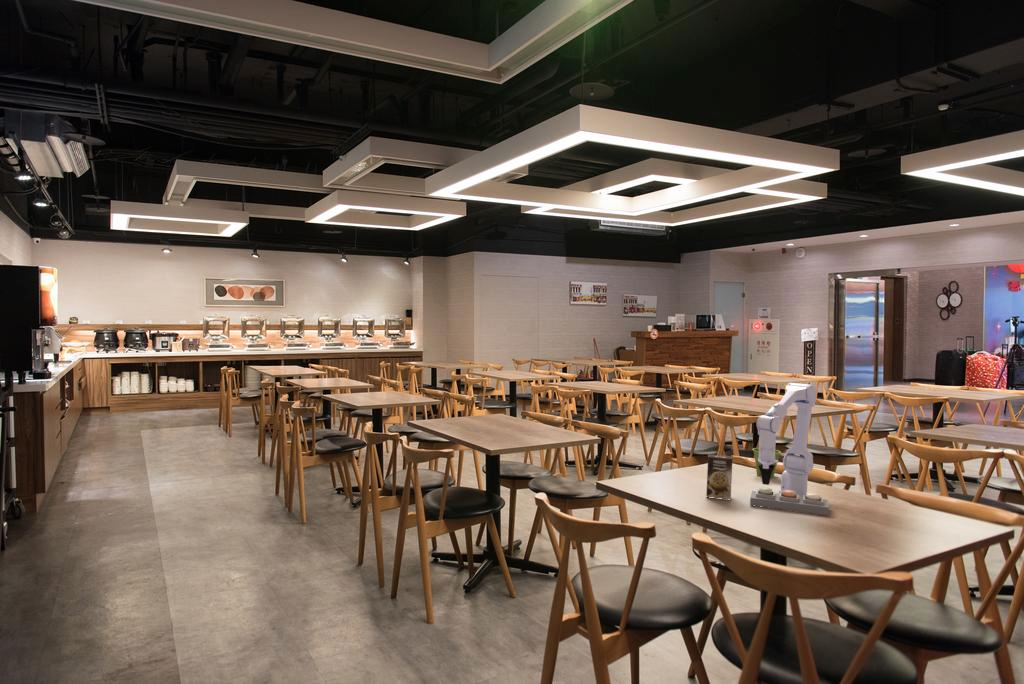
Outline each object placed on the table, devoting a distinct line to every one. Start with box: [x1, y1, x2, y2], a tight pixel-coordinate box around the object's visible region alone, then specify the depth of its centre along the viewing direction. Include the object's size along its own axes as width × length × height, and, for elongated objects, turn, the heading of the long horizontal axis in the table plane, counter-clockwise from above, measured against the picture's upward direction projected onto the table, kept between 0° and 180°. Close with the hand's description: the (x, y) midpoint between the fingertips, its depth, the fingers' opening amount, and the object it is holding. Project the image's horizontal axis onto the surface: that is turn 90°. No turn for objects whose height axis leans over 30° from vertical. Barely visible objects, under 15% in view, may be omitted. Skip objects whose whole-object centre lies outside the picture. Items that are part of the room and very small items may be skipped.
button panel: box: [749, 489, 830, 517], centre depth 234 cm, size 26×11×4 cm, turn 66°
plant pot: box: [751, 447, 782, 478], centre depth 282 cm, size 12×12×11 cm
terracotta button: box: [783, 490, 796, 497], centre depth 234 cm, size 4×4×2 cm
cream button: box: [806, 492, 821, 500], centre depth 231 cm, size 4×4×2 cm
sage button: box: [758, 486, 773, 494], centre depth 238 cm, size 4×4×2 cm
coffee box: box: [705, 453, 733, 500], centre depth 245 cm, size 9×6×16 cm
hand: (765, 484), depth 237 cm, fingers closed
